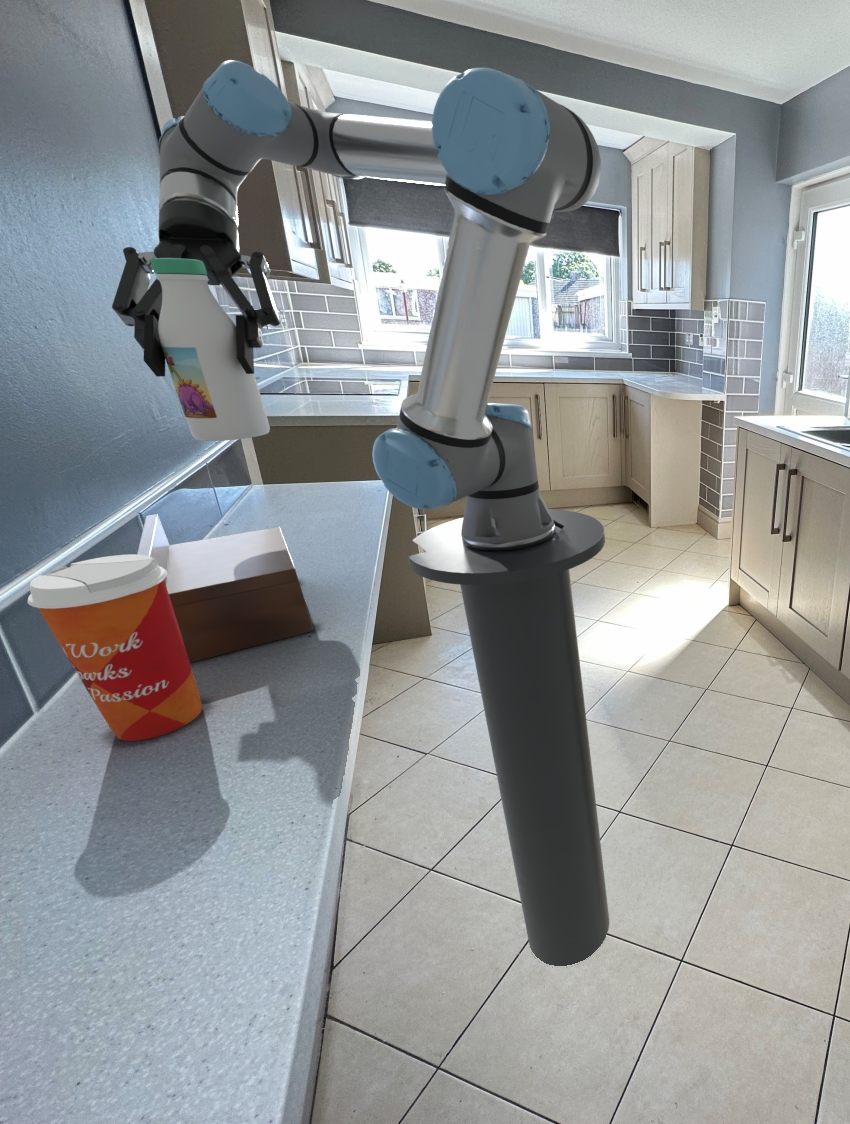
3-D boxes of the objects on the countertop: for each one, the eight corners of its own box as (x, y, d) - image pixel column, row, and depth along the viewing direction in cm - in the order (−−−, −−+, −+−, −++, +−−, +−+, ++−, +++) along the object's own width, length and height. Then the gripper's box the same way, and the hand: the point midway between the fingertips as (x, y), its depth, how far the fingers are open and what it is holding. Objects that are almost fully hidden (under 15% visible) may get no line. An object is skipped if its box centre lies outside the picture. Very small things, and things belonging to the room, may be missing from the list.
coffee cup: (69, 747, 52) (-14, 589, 46) (159, 692, 60) (98, 550, 54) (162, 752, 52) (91, 593, 46) (241, 695, 59) (189, 553, 54)
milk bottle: (266, 428, 81) (217, 262, 74) (276, 436, 76) (224, 259, 68) (191, 435, 76) (129, 258, 69) (196, 445, 71) (129, 254, 64)
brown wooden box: (296, 581, 84) (271, 497, 79) (314, 631, 71) (284, 534, 67) (181, 605, 77) (146, 515, 72) (178, 665, 64) (135, 560, 60)
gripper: (305, 252, 85) (316, 384, 77) (111, 245, 77) (103, 392, 69) (286, 202, 78) (296, 342, 71) (72, 189, 70) (59, 345, 63)
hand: (201, 367), depth 70 cm, fingers closed on milk bottle, 8 cm apart
